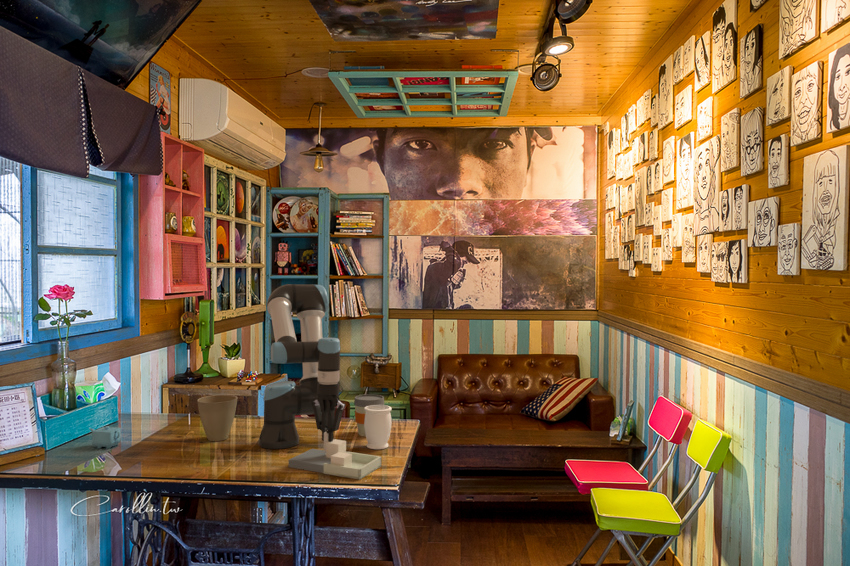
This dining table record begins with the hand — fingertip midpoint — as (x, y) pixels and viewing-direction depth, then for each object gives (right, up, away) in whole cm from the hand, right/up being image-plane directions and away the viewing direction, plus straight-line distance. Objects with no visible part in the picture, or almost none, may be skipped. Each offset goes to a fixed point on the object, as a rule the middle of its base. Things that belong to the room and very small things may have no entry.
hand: (327, 450), depth 196 cm
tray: (+10, -4, -7) cm, 13 cm away
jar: (+16, -5, +20) cm, 26 cm away
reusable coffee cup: (+11, -4, +38) cm, 40 cm away
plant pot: (-48, -4, +27) cm, 56 cm away
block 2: (+6, -4, -9) cm, 12 cm away
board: (-3, -4, -2) cm, 5 cm away
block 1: (+3, -2, -1) cm, 4 cm away
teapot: (-86, -3, +15) cm, 88 cm away
